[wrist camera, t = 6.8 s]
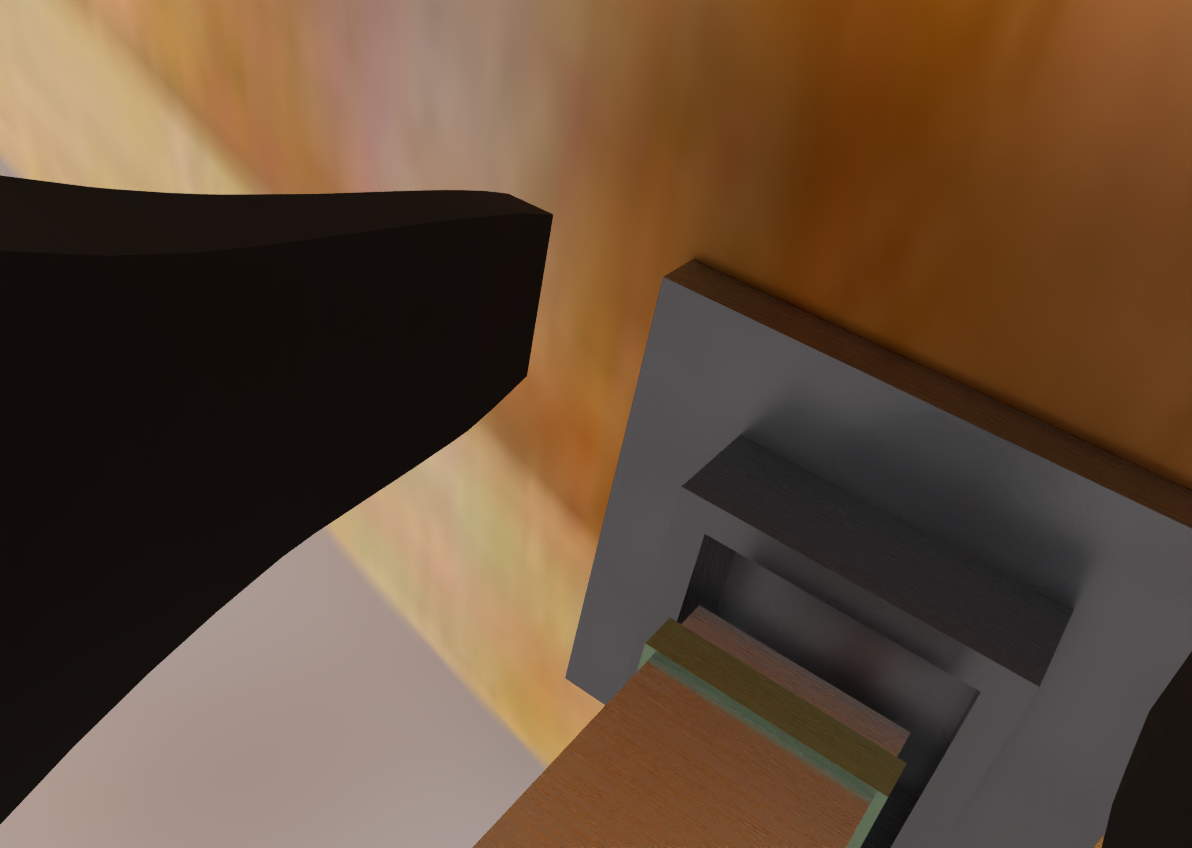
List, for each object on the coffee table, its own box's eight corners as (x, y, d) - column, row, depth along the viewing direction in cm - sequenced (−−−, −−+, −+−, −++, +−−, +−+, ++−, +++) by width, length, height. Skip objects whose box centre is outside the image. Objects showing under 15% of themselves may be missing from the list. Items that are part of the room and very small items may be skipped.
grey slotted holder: (1305, 543, 15) (1265, 790, 11) (1014, 929, 21) (921, 1181, 17) (692, 259, 19) (503, 370, 15) (590, 652, 24) (434, 806, 21)
